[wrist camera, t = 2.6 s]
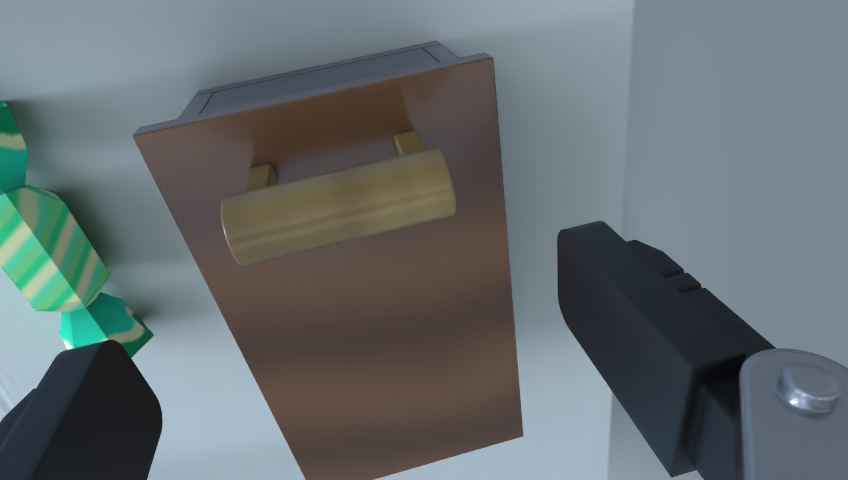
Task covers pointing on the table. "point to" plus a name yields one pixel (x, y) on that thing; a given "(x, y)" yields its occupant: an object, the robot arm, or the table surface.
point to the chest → (316, 77)
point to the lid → (359, 261)
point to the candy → (56, 256)
